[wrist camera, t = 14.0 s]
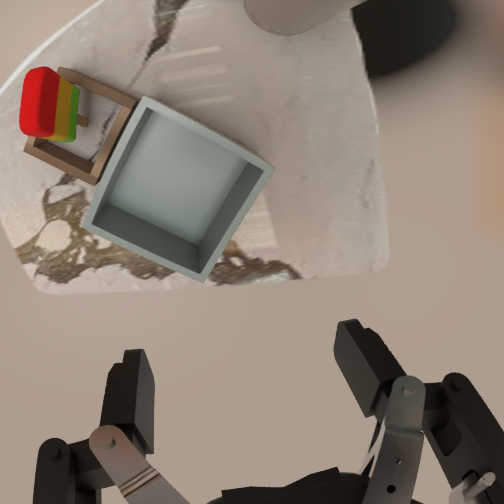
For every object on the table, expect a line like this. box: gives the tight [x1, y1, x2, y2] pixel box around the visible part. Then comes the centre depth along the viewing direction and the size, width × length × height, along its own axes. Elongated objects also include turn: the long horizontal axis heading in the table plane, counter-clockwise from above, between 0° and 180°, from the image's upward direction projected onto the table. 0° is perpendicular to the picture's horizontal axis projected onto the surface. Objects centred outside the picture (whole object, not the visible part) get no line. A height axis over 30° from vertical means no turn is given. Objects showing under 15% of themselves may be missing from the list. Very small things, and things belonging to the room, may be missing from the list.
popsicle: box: [19, 66, 88, 142], centre depth 23 cm, size 6×15×2 cm
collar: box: [24, 67, 140, 186], centre depth 29 cm, size 10×10×4 cm
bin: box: [82, 95, 275, 283], centre depth 32 cm, size 14×14×8 cm
